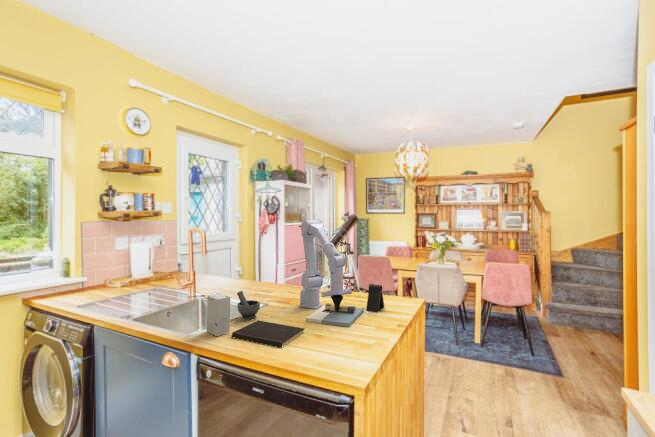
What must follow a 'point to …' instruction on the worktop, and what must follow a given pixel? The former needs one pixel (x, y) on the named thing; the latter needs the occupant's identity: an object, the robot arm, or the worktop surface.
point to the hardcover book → (268, 333)
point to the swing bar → (340, 308)
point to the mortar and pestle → (247, 307)
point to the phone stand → (375, 298)
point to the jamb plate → (319, 315)
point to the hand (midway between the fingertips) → (336, 311)
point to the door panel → (343, 317)
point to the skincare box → (218, 314)
